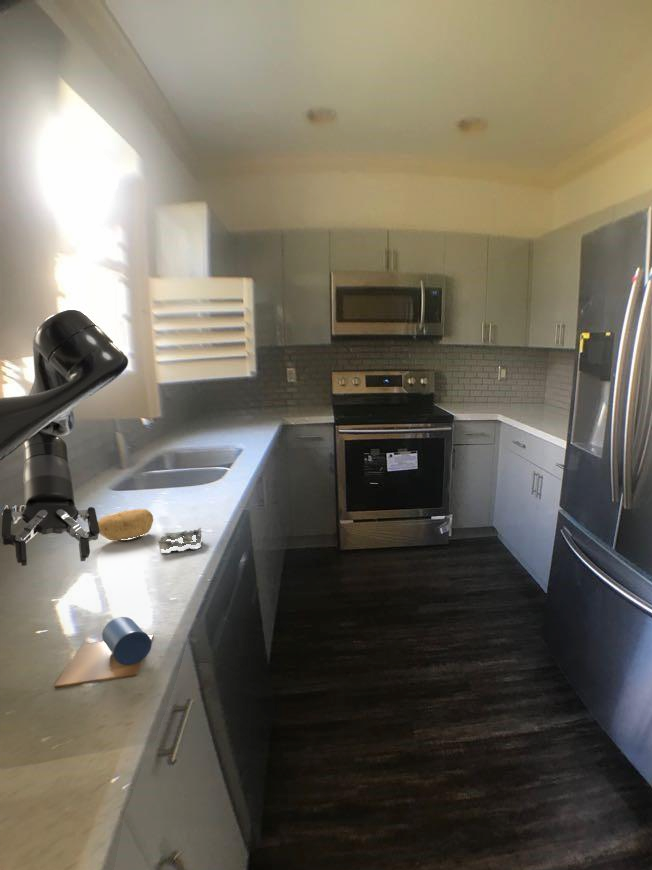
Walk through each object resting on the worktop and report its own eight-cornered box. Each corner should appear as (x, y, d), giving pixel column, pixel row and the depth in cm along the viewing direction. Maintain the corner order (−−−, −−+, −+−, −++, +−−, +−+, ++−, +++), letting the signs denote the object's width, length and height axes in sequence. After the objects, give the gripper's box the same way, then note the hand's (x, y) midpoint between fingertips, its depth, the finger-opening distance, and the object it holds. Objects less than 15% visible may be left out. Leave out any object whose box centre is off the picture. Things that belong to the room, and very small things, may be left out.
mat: (54, 687, 72) (54, 685, 72) (82, 646, 82) (82, 644, 82) (136, 675, 74) (135, 673, 74) (153, 636, 85) (153, 634, 84)
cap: (122, 629, 74) (108, 613, 79) (107, 664, 74) (95, 645, 79) (157, 633, 78) (142, 618, 83) (143, 666, 78) (129, 648, 83)
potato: (101, 538, 130) (94, 512, 127) (155, 528, 136) (150, 503, 133) (99, 551, 122) (92, 523, 119) (157, 539, 127) (151, 513, 125)
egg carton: (158, 556, 118) (154, 541, 116) (163, 544, 124) (160, 530, 123) (202, 550, 120) (199, 535, 119) (204, 539, 127) (202, 525, 125)
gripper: (-1, 472, 80) (2, 555, 74) (94, 474, 89) (104, 548, 83) (0, 495, 85) (2, 575, 79) (90, 495, 94) (99, 566, 88)
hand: (54, 561), depth 81 cm, fingers open, 8 cm apart
